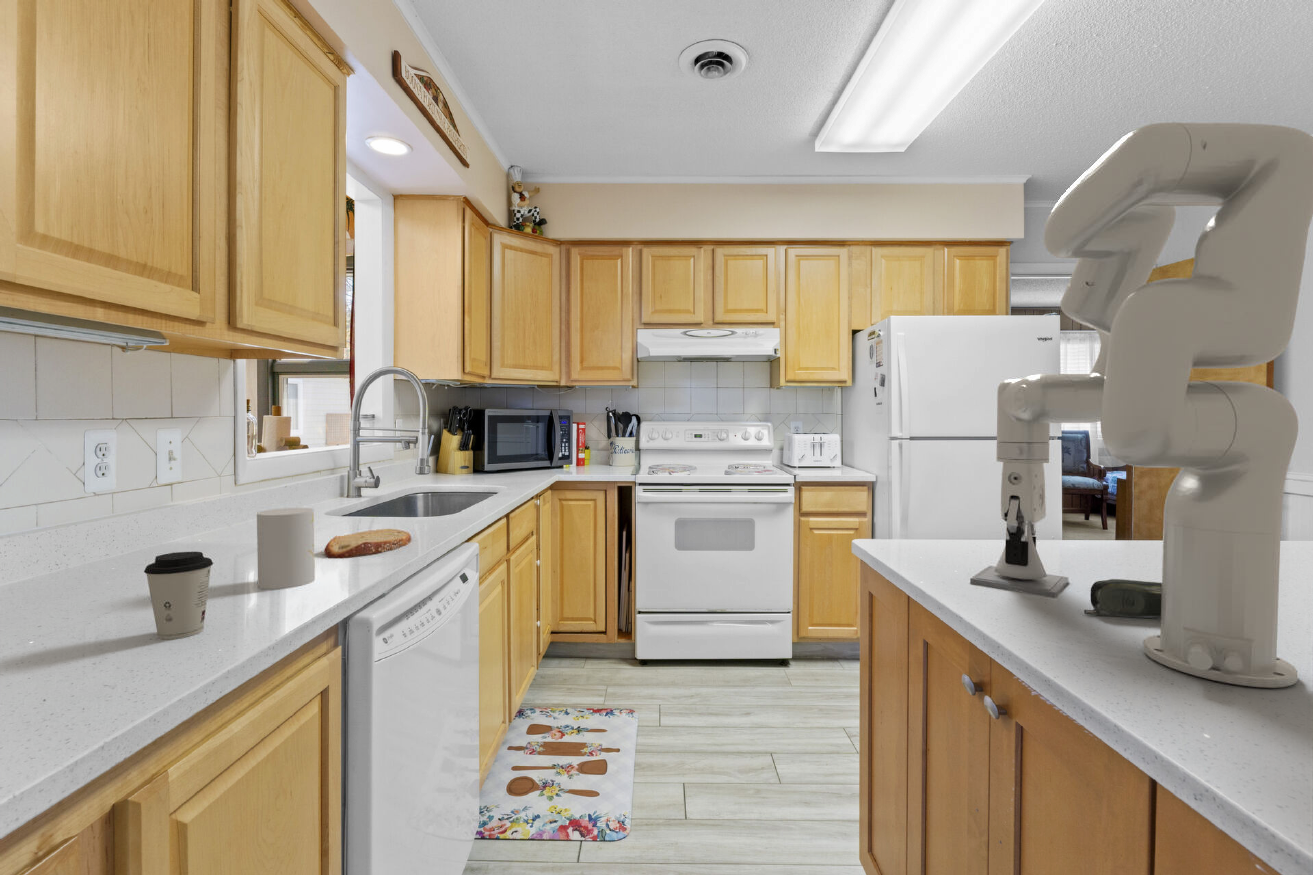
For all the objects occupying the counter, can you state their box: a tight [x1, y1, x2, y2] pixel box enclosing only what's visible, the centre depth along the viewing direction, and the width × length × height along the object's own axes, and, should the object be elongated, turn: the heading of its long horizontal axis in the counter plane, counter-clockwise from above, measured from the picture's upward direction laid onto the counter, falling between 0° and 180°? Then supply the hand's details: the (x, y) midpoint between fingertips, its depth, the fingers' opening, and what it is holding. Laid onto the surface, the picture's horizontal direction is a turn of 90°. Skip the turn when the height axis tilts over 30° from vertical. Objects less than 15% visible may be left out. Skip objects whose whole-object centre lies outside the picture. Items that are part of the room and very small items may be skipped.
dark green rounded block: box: [1083, 578, 1162, 620], centre depth 84 cm, size 5×3×15 cm
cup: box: [256, 507, 316, 590], centre depth 101 cm, size 8×8×12 cm
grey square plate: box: [969, 565, 1069, 598], centre depth 101 cm, size 12×12×1 cm
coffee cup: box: [143, 551, 214, 640], centre depth 77 cm, size 7×7×10 cm
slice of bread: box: [323, 528, 412, 559], centre depth 130 cm, size 18×18×4 cm
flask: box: [994, 518, 1047, 579], centre depth 101 cm, size 7×7×10 cm
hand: (1020, 560), depth 101 cm, fingers closed on flask, 5 cm apart
